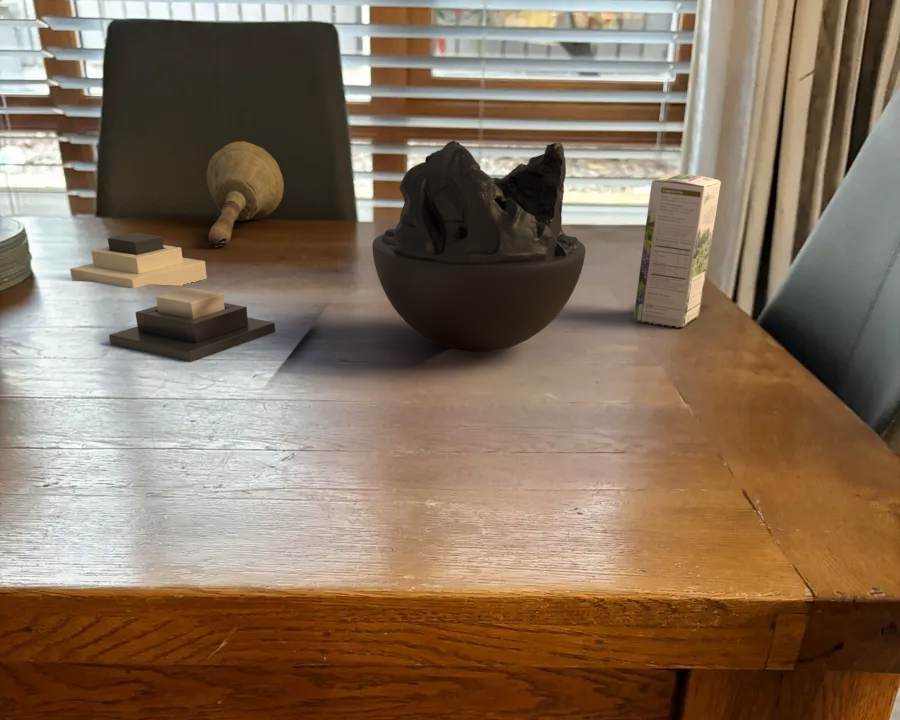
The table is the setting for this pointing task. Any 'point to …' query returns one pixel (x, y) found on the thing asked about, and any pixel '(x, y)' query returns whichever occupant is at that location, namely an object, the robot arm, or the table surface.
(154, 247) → the key far
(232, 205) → the handbell
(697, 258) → the syrup box
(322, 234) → the table surface
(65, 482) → the table surface
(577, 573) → the table surface
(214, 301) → the key near
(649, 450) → the table surface
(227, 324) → the tiered square pedestal
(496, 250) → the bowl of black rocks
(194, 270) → the stepped ziggurat stack
